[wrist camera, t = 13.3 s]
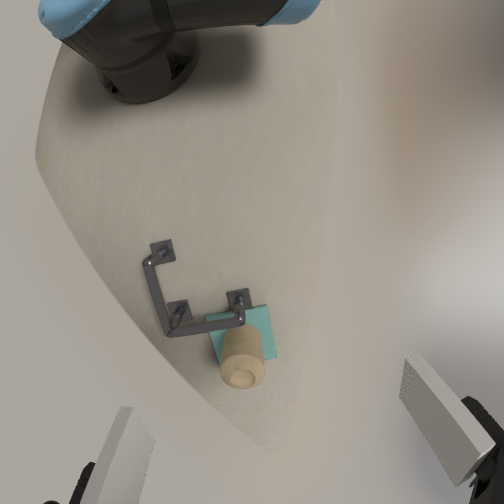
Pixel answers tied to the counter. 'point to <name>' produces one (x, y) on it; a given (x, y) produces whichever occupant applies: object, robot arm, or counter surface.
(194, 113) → the counter surface
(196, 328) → the handrail
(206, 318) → the pad
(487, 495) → the robot arm
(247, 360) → the candle
